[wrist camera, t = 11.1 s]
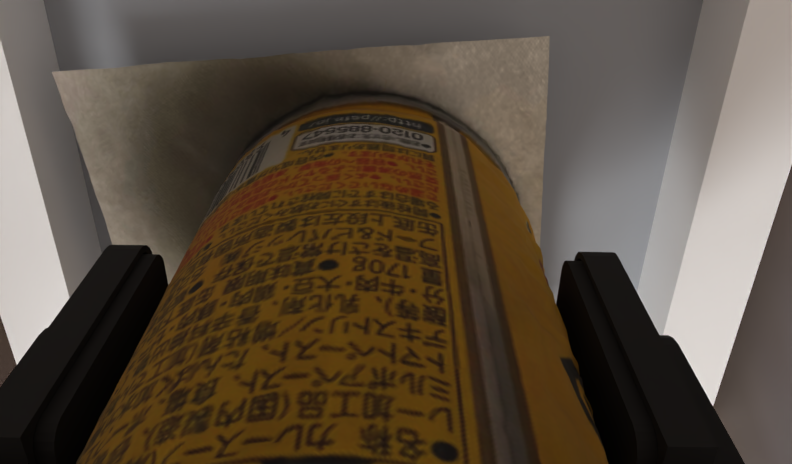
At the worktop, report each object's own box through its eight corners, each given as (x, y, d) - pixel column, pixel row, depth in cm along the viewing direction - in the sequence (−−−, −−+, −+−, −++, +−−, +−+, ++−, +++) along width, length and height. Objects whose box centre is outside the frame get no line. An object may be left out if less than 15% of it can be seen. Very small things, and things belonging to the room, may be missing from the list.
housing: (642, 451, 19) (673, 528, 17) (106, 444, 19) (68, 521, 17) (826, -238, 11) (928, -258, 9) (-82, -254, 11) (-197, -278, 9)
